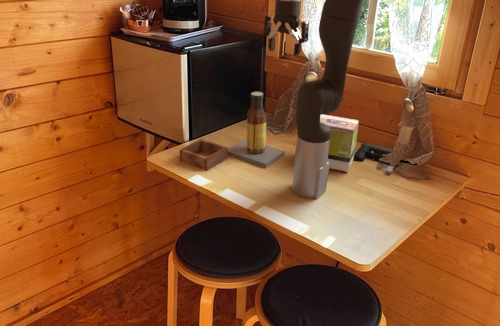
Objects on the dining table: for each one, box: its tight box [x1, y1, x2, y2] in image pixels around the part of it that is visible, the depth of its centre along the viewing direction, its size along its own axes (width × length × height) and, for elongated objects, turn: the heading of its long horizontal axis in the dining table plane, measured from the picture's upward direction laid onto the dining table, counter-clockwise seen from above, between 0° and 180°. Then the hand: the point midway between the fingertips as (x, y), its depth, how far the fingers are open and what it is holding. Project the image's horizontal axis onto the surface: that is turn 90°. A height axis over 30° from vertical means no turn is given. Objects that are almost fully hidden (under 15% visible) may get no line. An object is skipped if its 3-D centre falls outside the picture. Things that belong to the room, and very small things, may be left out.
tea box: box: [320, 114, 360, 173], centre depth 157 cm, size 15×10×15 cm
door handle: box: [353, 142, 394, 176], centre depth 162 cm, size 3×20×16 cm
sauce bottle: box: [246, 91, 267, 154], centre depth 158 cm, size 7×6×20 cm
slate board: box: [228, 138, 286, 169], centre depth 162 cm, size 16×12×2 cm
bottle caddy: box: [179, 138, 229, 172], centre depth 157 cm, size 11×11×4 cm
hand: (284, 53), depth 149 cm, fingers open, 8 cm apart
